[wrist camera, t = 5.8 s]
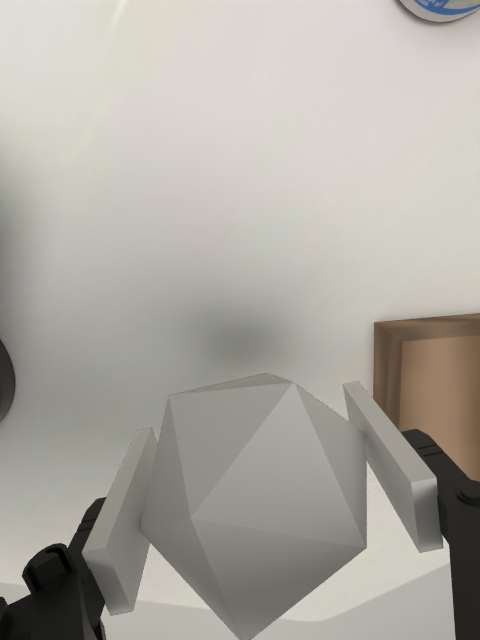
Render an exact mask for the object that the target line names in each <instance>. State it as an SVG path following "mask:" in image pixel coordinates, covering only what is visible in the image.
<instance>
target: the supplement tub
mask: <svg viewBox="0 0 480 640" xmlns="http://www.w3.org/2000/svg"><path fill="white" fill-rule="evenodd" d="M400 1H401V2H402V3H403V5H404V6H405V7H406V8H407V9H409V10H410V11H411V12H412V13H414V14H415V15H417V16H419V17H421V18H423V19H426V20H430V21H436V22H447V21H452V20H456V19H459V18H462V17H465V16H467V15H469V14H471V13H473V12H474V11H476V10H478V9H479V8H480V0H400Z"/></svg>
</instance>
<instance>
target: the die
mask: <svg viewBox="0 0 480 640" xmlns="http://www.w3.org/2000/svg"><path fill="white" fill-rule="evenodd" d="M139 530H140V532H141V533H142V534H143V535H144V536H145V537H146V538H147V539H148V540H149V542H150V543H151V544H152V545H153V546H154V547H155V548H156V549H157V550H158V551H159V552H160V554H161V555H162V556H163V557H164V558H165V559H166V560H167V561H168V562H169V563H170V564H171V566H172V567H173V568H174V569H175V570H176V571H177V572H178V573H179V574H180V575H181V576H182V578H183V579H184V580H185V581H186V582H187V583H188V584H189V585H190V586H191V587H192V588H193V590H194V591H195V592H196V593H197V594H198V595H199V596H200V597H201V598H202V599H203V600H204V602H205V603H206V604H207V605H208V606H209V607H210V608H211V609H212V610H213V611H214V613H215V614H216V615H217V616H218V617H219V618H220V619H221V620H222V621H223V622H224V623H225V624H226V625H227V627H228V628H229V629H230V630H231V631H232V632H233V633H234V634H235V635H236V636H237V637H238V639H239V640H251V639H252V638H254V637H255V636H256V635H257V634H259V633H260V632H261V631H262V630H264V629H265V628H266V627H267V626H268V625H270V624H271V623H272V622H273V621H275V620H276V619H278V618H279V617H280V616H281V615H283V614H284V613H285V612H286V611H288V610H289V609H290V608H291V607H293V606H294V605H295V604H296V603H298V602H299V601H300V600H301V599H303V598H304V597H305V596H306V595H308V594H309V593H310V592H312V591H313V590H314V589H315V588H317V587H318V586H319V585H320V584H322V583H323V582H324V581H325V580H327V579H328V578H329V577H330V576H332V575H333V574H334V573H335V572H337V571H338V570H339V569H341V568H342V567H343V566H344V565H346V564H347V563H348V562H349V561H351V560H352V559H353V558H354V557H356V556H357V555H358V554H359V553H361V552H362V551H363V550H364V549H366V548H367V496H366V434H365V433H364V432H363V431H361V430H360V429H358V428H357V427H356V426H354V425H353V424H351V423H350V422H349V421H347V420H346V419H344V418H343V417H342V416H340V415H339V414H337V413H336V412H335V411H333V410H332V409H331V408H329V407H328V406H326V405H325V404H324V403H322V402H321V401H319V400H318V399H317V398H315V397H314V396H312V395H311V394H310V393H308V392H307V391H305V390H304V389H303V388H301V387H300V386H298V385H297V384H296V383H294V382H292V381H289V380H286V379H283V378H280V377H277V376H274V375H271V374H268V373H264V374H259V375H255V376H251V377H246V378H242V379H238V380H233V381H229V382H225V383H220V384H216V385H212V386H207V387H203V388H199V389H195V390H190V391H186V392H182V393H177V394H173V395H169V398H168V402H167V407H166V411H165V416H164V420H163V424H162V429H161V433H160V438H159V442H158V446H157V451H156V455H155V460H154V464H153V469H152V473H151V477H150V482H149V486H148V491H147V495H146V500H145V504H144V508H143V513H142V517H141V522H140V526H139Z"/></svg>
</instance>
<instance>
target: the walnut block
mask: <svg viewBox="0 0 480 640" xmlns="http://www.w3.org/2000/svg"><path fill="white" fill-rule="evenodd" d="M373 399H374V401H375V402H376V403H377V404H378V406H379V407H380V408H381V409H382V411H383V412H384V413H385V414H386V416H387V417H388V418H389V419H390V421H391V422H392V423H393V424H394V425H395V427H396V428H397V429H398V430H399V432H403V431H407V430H412V429H418V430H420V431H422V432H424V433H426V434H428V435H429V436H430V437H431V438H432V439H433V440H434V441H435V442H436V443H437V445H438V446H440V447H441V449H442V450H443V451H444V453H446V454H447V455H448V456H449V457H450V458H451V459H452V460H453V461H454V462H455V464H456V465H457V466H458V467H459V468H460V469H461V470H462V471H463V472H464V473H465V474H466V475H467V476H468V477H469V479H471V480H475V481H479V482H480V313H477V314H465V315H454V316H442V317H431V318H419V319H408V320H397V321H385V322H374V384H373Z"/></svg>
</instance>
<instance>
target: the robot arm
mask: <svg viewBox="0 0 480 640" xmlns="http://www.w3.org/2000/svg"><path fill="white" fill-rule="evenodd" d="M343 388H344V394H345V400H346V405H347V411H348V417H349V422H350V423H351V424H353V425H354V426H356V427H357V428H358V429H360V430H361V431H363V432H364V433H365V434H366V460H367V462H368V463H369V465H370V467H371V469H372V470H373V472H374V474H375V476H376V477H377V479H378V481H379V483H380V484H381V486H382V488H383V490H384V491H385V493H386V495H387V497H388V498H389V500H390V502H391V504H392V505H393V507H394V509H395V511H396V512H397V514H398V516H399V518H400V519H401V521H402V523H403V525H404V526H405V528H406V530H407V532H408V533H409V535H410V537H411V539H412V540H413V542H414V544H415V546H416V547H417V549H418V551H419V553H422V552H427V551H432V550H437V549H442V548H443V538H442V535H443V536H444V538H445V539H446V541H447V542H448V544H449V549H450V563H451V577H452V591H453V606H454V620H455V636H456V640H480V482H479V481H475V480H471V479H469V477H468V476H467V475H466V474H465V473H464V472H463V471H462V470H461V469H460V468H459V467H458V466H457V465H456V464H455V462H454V461H453V460H452V459H451V458H450V457H449V456H448V455H447V454H446V453H444V451H443V450H442V449H441V447H440V446H438V445H437V443H436V442H435V441H434V440H433V439H432V438H431V437H430V436H429V435H428V434H426V433H424V432H422V431H420V430H418V429H412V430H407V431H403V432H399V430H398V429H397V428H396V427H395V425H394V424H393V423H392V422H391V421H390V419H389V418H388V417H387V416H386V414H385V413H384V412H383V411H382V409H381V408H380V407H379V406H378V404H377V403H376V402H375V401H374V399H373V398H372V397H371V396H370V394H369V393H368V392H367V391H366V390H365V388H364V387H363V386H362V385H361V383H360V382H359V381H356V382H352V383H347V384H343ZM13 394H14V374H13V369H12V365H11V362H10V359H9V357H8V354H7V352H6V350H5V348H4V347H3V345H2V343H1V342H0V421H1V420H2V419H3V417H4V416H5V415H6V413H7V411H8V409H9V407H10V405H11V402H12V399H13ZM157 446H158V444H157V441H156V438H155V435H154V432H153V429H152V427H151V428H147V429H142V430H138V431H136V434H135V436H134V438H133V440H132V442H131V445H130V447H129V449H128V451H127V454H126V456H125V458H124V460H123V462H122V465H121V467H120V469H119V471H118V473H117V476H116V478H115V480H114V482H113V484H112V487H111V489H110V491H109V493H108V495H107V497H104V498H99V499H96V500H95V502H94V503H93V504H92V505H91V506H90V507H89V508H88V509H87V511H86V513H85V515H84V517H83V519H82V521H81V524H80V525H79V527H78V529H77V533H75V535H74V537H73V539H72V541H71V543H70V545H69V547H68V548H67V546H66V545H65V544H62V543H58V544H53V545H50V546H48V547H46V548H44V549H43V550H41V551H40V552H38V553H37V554H36V555H35V556H34V557H33V558H32V559H31V560H30V561H29V562H28V564H27V565H26V567H25V568H24V571H23V574H22V577H23V579H24V581H25V583H26V585H27V586H28V588H29V590H30V592H31V594H30V595H28V596H26V597H24V598H22V599H20V600H18V601H16V602H14V603H12V604H10V605H8V604H7V603H6V601H5V599H4V598H3V597H0V640H106V635H105V629H104V625H103V623H102V621H101V619H100V617H101V614H102V610H103V607H104V605H106V607H107V609H108V611H109V613H110V615H111V616H113V615H118V614H123V613H128V612H132V611H133V609H134V605H135V601H136V597H137V593H138V589H139V585H140V581H141V577H142V573H143V569H144V565H145V561H146V557H147V553H148V549H149V546H150V542H149V540H148V539H147V538H146V537H145V536H144V535H143V534H142V533H141V532H140V530H139V526H140V522H141V517H142V513H143V508H144V504H145V500H146V495H147V491H148V486H149V482H150V477H151V473H152V469H153V464H154V460H155V455H156V451H157Z"/></svg>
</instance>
